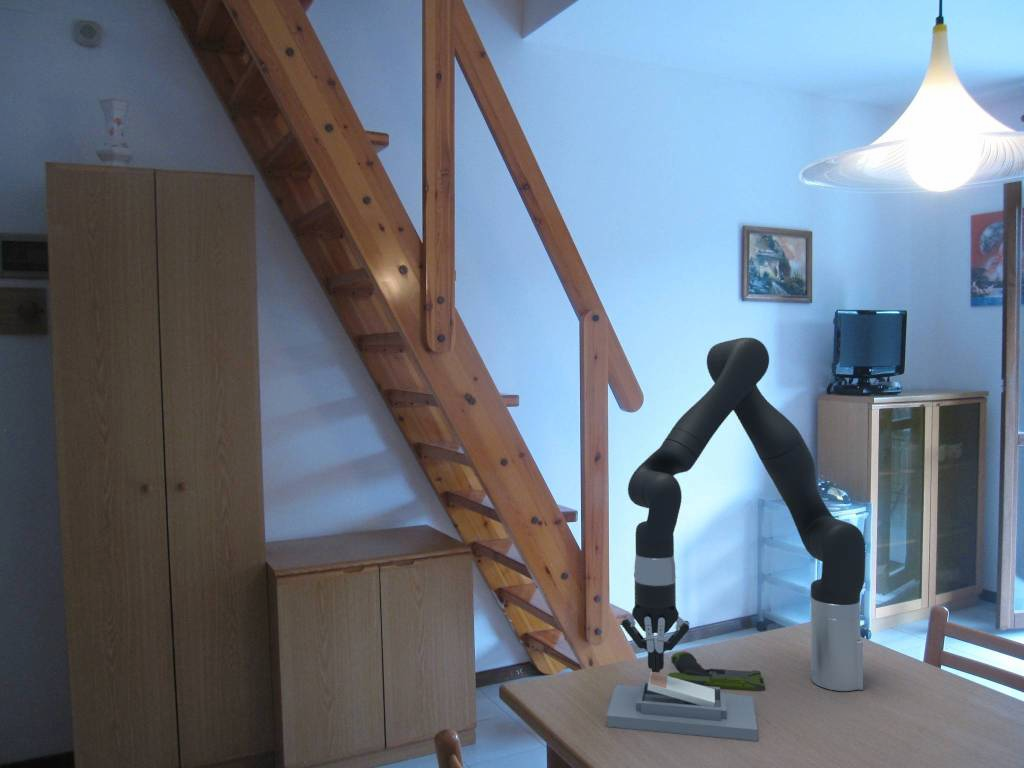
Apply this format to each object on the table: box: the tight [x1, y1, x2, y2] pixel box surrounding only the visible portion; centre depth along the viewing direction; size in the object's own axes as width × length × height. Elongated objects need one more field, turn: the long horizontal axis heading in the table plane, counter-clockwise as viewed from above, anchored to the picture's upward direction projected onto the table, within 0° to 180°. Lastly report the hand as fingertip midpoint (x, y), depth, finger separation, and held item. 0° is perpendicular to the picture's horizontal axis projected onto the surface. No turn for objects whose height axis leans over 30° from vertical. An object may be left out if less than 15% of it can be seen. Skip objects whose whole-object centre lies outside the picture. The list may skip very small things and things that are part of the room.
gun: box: [667, 651, 766, 692], centre depth 163 cm, size 2×19×15 cm
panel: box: [606, 680, 758, 742], centre depth 144 cm, size 26×14×4 cm, turn 76°
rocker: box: [647, 670, 715, 707], centre depth 143 cm, size 12×6×1 cm, turn 76°
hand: (655, 670), depth 145 cm, fingers closed
